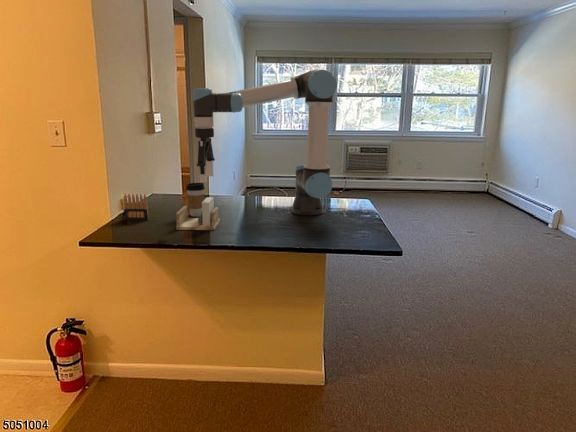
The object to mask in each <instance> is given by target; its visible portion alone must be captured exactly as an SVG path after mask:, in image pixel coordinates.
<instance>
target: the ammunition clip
mask: <svg viewBox="0 0 576 432" xmlns="http://www.w3.org/2000/svg"><path fill="white" fill-rule="evenodd" d="M123 199H124V200H123V206H124V209H123V212H124V213H123V214H124V221H149V220H150V213H149V207H148V205H149V204H148V199H147V195H146V193H144V194H143V195H142V193H140V194H138V193H136V195H135V194H134V193H132V195H131V193H128V196H127V194H126V193H124V195H123Z"/></svg>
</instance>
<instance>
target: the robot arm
mask: <svg viewBox="0 0 576 432" xmlns="http://www.w3.org/2000/svg"><path fill="white" fill-rule="evenodd" d="M337 84H338V83H337V79H336V76H335V75H334V74H333V72H332V71H330V70H328V69H324V68H316V69H314V70H308V71H307V72H304V73H302V74H299V75H296V76H291V78H290V79H288V80H283V81H279V82H274V83H267V84H263V85H259V86H254V87H249V88H244V89H239V90H234V91H229V92H223V93H222V92H220V93H217V92H213V90H212V88H210V87H209V88H207V87H206V88H205V87H204V88H203V87H198V88H194V89H193V91H192V93H193V94H192V96H193V97H192V98H193V99H192V103H193V115H194V116H193V117H194V118H193V120H192V121H193V122H194V127H196V128H195V129H194V133H195V134H194V135H195V138H198V139H200V140H198V147H197V148H198V150H197V163H196V166H197V167H198V170H199V183H208V177H214V161H215V158H214V157H215V156H214V151H213V144H212V138H214V137H215V129H214V126H215V125H214V113H234V114H235V113H241V112H242V111H243V109H244V108H247V107H248V108H249V107H252V106H257V105H258V106H259V105H262V104H267V103H272V102H276V101H277V102H278V101H281V100H287V99H290V98H294V99H295V100H298V99H305V100H304V102H305V104H306V105H307V107H308V113H307V114H308V117H307V119H308V121H307V149H306V150H307V155H306V156H307V157H306V158H307V160H306V163H305V164H304V163H303V164H297V165H296V166H295V171H294V172H295V196H294V200H293V202H292V206H291V212H292V213H293V214H295V215H300V216H317V215H321V214H323V213H324V206H323V202H322V198H325V197H327V196H328V195H329V194H330V193H331V191H332V189H333V180H332V177H331V175H330V172H331V166H330V165H329V164H328V163H327V162H328V142H329V141H328V140H329V139H328V136H329V115H330V114H329V112H330V106H331V105H332V104H333V102H334V101H333V100H334V94H335V93H336V91H337Z"/></svg>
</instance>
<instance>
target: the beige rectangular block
mask: <svg viewBox="0 0 576 432" xmlns="http://www.w3.org/2000/svg"><path fill="white" fill-rule="evenodd" d="M214 198H215V197H211V196H209V197H205V198H204V201H203V202H202V219H203V226H210V225H211V224H212V215H211V212H212V211H213V210H214V208H215V203H214V202H215V201H214V200H215V199H214Z"/></svg>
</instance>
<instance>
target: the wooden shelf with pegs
mask: <svg viewBox="0 0 576 432" xmlns="http://www.w3.org/2000/svg"><path fill="white" fill-rule="evenodd" d="M188 207H189V206H188V205H184V206H182V207H181V208H180V209H179V210H178V211H177V212H176V213H175V221H176V227H175V229H176V231H177V230H180V231H181V230H182V231H184V230H186V231H187V230H188V231H191V230H192V231H215V230H216V228H217V227H218V226H219V224H220V223H221V218H220V216H219V206H214V210H213V211H212V212H211V215H212V224H211V225H210V226H203V219H202V212H201V215H198V216H197V217H189V211H188V209H189V208H188Z"/></svg>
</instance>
